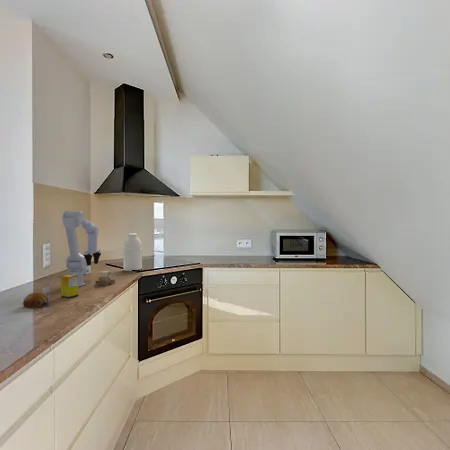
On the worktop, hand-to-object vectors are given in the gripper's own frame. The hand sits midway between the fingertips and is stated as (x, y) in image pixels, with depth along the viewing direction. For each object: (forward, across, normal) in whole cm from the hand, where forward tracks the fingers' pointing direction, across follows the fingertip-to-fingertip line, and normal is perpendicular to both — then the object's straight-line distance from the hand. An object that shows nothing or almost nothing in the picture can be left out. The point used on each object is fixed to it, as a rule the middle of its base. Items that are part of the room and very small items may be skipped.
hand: (92, 264), depth 212 cm
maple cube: (+7, -12, -17) cm, 22 cm away
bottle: (+10, +39, -8) cm, 41 cm away
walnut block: (+10, -12, -17) cm, 23 cm away
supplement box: (+10, -44, -17) cm, 48 cm away
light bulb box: (+10, +15, +19) cm, 26 cm away
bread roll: (+10, -62, -14) cm, 64 cm away
